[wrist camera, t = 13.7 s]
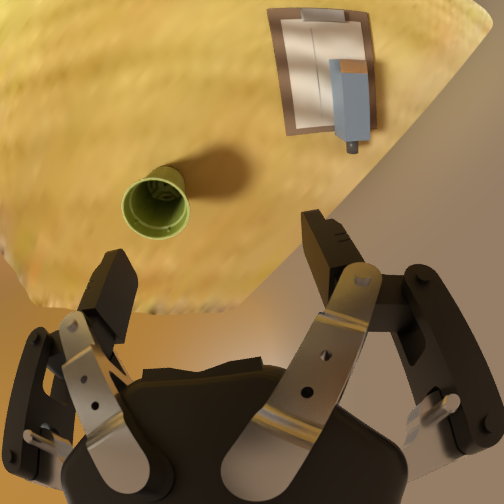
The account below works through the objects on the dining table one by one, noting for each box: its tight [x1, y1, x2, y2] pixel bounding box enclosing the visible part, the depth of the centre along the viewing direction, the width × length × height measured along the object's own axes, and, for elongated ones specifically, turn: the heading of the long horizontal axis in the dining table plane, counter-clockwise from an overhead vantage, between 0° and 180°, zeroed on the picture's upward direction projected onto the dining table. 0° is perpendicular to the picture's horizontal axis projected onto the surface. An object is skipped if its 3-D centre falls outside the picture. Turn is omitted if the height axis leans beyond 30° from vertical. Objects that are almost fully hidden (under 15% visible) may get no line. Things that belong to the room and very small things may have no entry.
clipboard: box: [267, 8, 377, 136], centre depth 30 cm, size 20×15×2 cm
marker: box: [329, 59, 370, 154], centre depth 32 cm, size 14×4×4 cm, turn 9°
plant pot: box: [122, 166, 190, 240], centre depth 37 cm, size 9×9×9 cm
